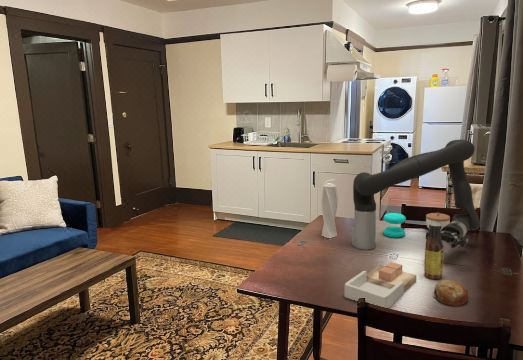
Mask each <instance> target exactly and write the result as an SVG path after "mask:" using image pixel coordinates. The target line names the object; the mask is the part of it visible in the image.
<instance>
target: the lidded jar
mask: <svg viewBox="0 0 523 360" xmlns="http://www.w3.org/2000/svg"><path fill="white" fill-rule="evenodd" d="M450 220H451V217H450V215H448V214H445V213H440V212H431V213H426V214H425V223H426V227H427V228H428V229H429V224H430V223H438V224H441V230H442V228H443V227H445V226H446V225H447V224H449V223H450Z"/></svg>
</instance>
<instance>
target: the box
mask: <svg viewBox="0 0 523 360" xmlns="http://www.w3.org/2000/svg"><path fill="white" fill-rule="evenodd" d="M367 274H368V271H367V270H363V271H361V272H360V273H358V274H356V275H355V276H354V277H352V278H351V279H350V280H348V281H346V282H345V284H344V289H343V290H344V293H343V294H344V295H343V297H344V298H346V299H348V300H352V301H354V300H355V302H357V301H358V299H359V298H365V300H366V302H368V303H370V304H374V305H378V306H381V307H385V308H388V309H389V308H390V307H391V306H392V305H393V304H395V303H396V301H398V300H399V299H400V298H401V297H402V296H403V295H404V293H403V290H404V282H402V281H400V282H399V283H397V284H396V285H395V286H394V287H393V288H391V289H390V288H386V287H383V286H380V285H377V284H373V283H370V282H367Z"/></svg>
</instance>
